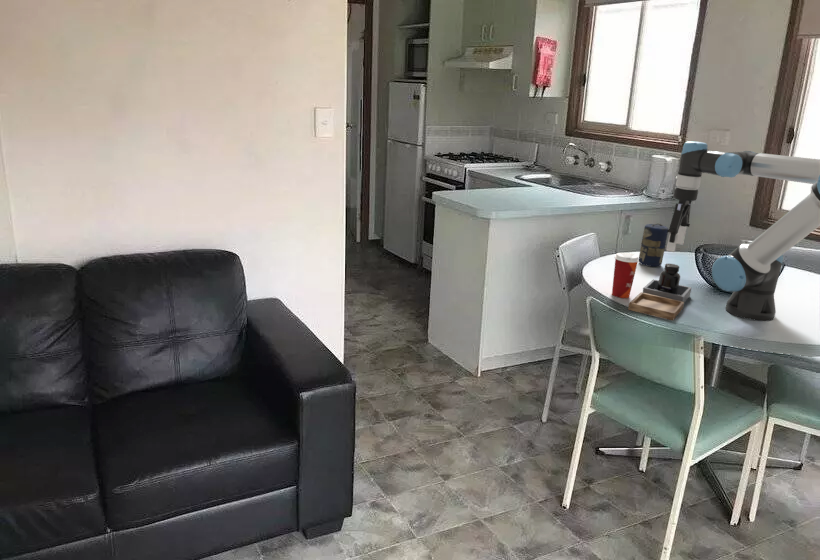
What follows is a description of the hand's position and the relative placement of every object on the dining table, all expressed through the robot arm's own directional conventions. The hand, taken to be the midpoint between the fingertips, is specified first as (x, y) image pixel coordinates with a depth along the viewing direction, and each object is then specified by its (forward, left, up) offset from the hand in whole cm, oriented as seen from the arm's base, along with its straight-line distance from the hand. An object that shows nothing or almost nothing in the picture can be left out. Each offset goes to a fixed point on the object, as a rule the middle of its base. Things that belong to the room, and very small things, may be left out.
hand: (674, 247), depth 224 cm
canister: (+16, -40, -19) cm, 47 cm away
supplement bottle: (0, 0, -19) cm, 19 cm away
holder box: (0, 0, -18) cm, 18 cm away
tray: (-1, +17, -18) cm, 25 cm away
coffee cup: (+13, +10, -19) cm, 25 cm away
